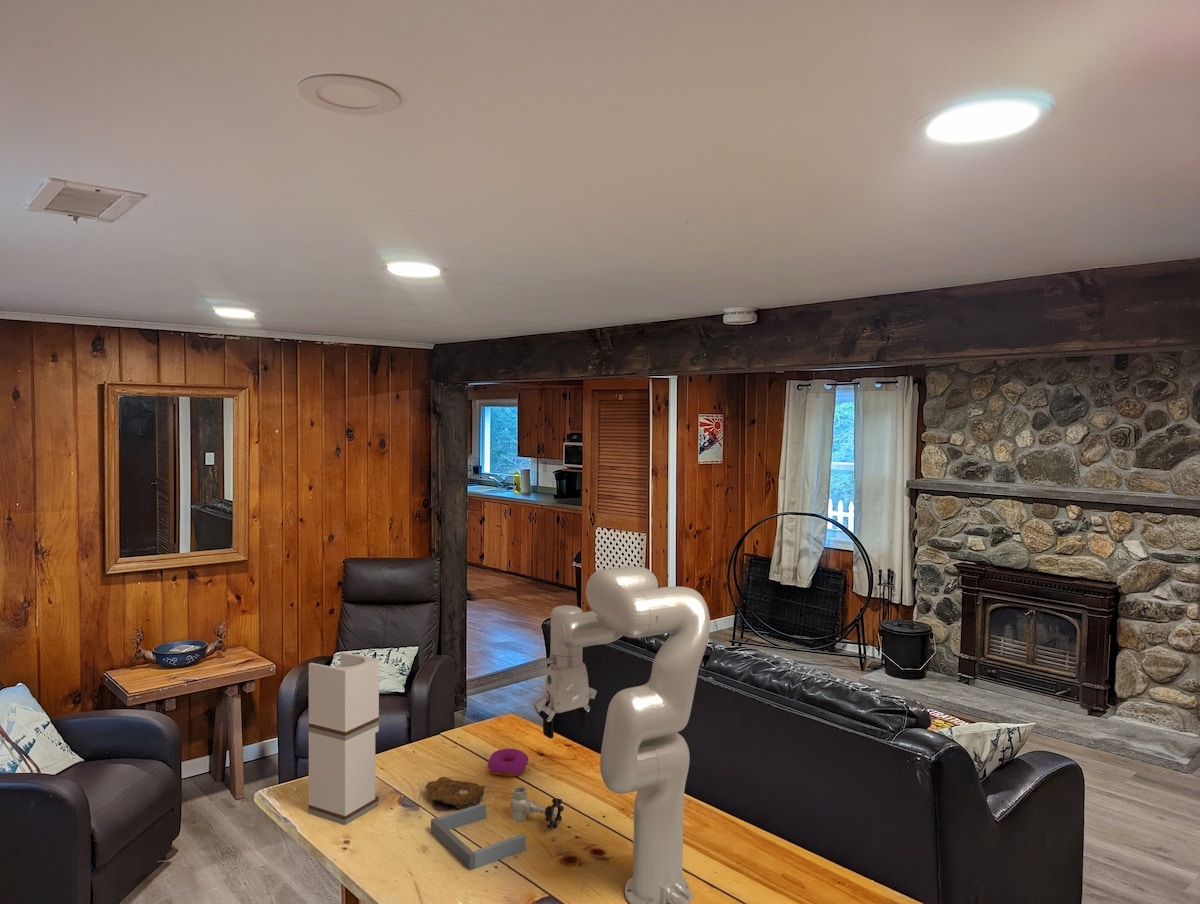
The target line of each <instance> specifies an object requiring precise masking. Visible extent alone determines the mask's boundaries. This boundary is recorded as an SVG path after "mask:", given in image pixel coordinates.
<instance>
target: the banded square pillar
mask: <svg viewBox="0 0 1200 904" xmlns="http://www.w3.org/2000/svg"><path fill="white" fill-rule="evenodd" d="M339 663H340V666H339V667H337V666H330V665H326V664H325V665H324V664H320V663H314V662H310V663H308V814H309V815H313V816H315V817H319V818H322V819H325V820H328V821H331V822H333V823H338V824H340V825H344V826H347V824H349V823H352V822H353V821H355V820H356V819H358V818H359V817H362V816H364V815H365V814H366V813H369V811H371V810H373V809H375V808H377V807H378V806H379V801H380V800H379V799H380V797H379V796H376V733H378V732H379V730H380V725H379V724H380V723H379V722H380V718H379V717H380V714H379V713H380V709H379V707H380V705H379V704H380V703H379V702H380V699H379V698H380V658H375V657H372V656H364V655H360V654H354V653H348V652H341V653H340V661H339Z"/></svg>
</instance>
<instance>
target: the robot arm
mask: <svg viewBox="0 0 1200 904" xmlns="http://www.w3.org/2000/svg"><path fill="white" fill-rule="evenodd" d="M585 596H586V600H587V604H588V605H589V607H590V608H591V610H592V611H585V612H583V609H581V608H580V607H579V606H576V605H569V604H568V605H559V606H555V607H554V608H552V610H551V613H550V653H549V657H548V658H546V664H547V665H548V667H547V670H546V677H545V683H544V693H543V695H542V696H541V697H540V698H538V699H537V700H536V701H535V702H534V703H533V707H534V709H535V712H536V714H537V715H538V716H539V717H540V718H541V719H542V723H543V724H542V733H543V735H544V736H545V737H546V738H549V739H554V737H555V736H554V734H555V732H554V728H555V727H554V726H555V725H554V724H555V722H554V720H552V719H554V716H555V715H556V714H561V713H565V712H570V711H573V710H577V713H576V714H577V716H576V717H577V720H576V721H577V726H578V727H580V729H581V728H582V729H583V730H587V729H588V722H589V720H588V717H589V716H588V715H589V714H588V713H589V712H591V707H592V705H593V704H594V702H595V698H596V696H597V693H598V690H597V689H595V688H592V687H589V676H588V671H587V667H586V664H585V663H584V662H583V654H584V653H583V650H584V649H583V648H587V647H590V646H596V645H597V646H599V645H604V644H605V645H606V644H610V643H613V642H616V641H617V640H619V639H620V638H621V637H623V636H624V637H627V638H630V639H636V638H637V639H638V638H646V637H651V636H660V635H665V634H669V636H668V638H667V639H666V641H665V642H664V643H663V644H662V645H661V646H660V648H659V649H658V650H657V653H656V655H655V657H654V658H653V662H652V667H651V674H650V678H649V680H648V681H647V682H646V683H645V684H641V685H639V686H633V687H628V688H624V689H621V690H620V691H618V692H616V694H615V695H614V696H613V697H612V698H611V700H610V702H609V704H608V709H607V713H606V718H605V725H604V730H603V731H604V732H603V738H602V743H601V750H600V756H599V757H600V760H599V765H600V766H599V770H600V776H601V778H602V782H603V783H604V785H605V787H606V788H607V789H608V790H609V791H610V792H612V793H615V794H618V795H619V794H628V793H629V794H630V793H633V792H636V791H637V792H636V793H635V794H636V795H635V799H634V802H633V803H634V804H633V805H634V806H633V835H632V836H633V839H632V840H633V841H632V842H633V844H632V845H633V846H632V847H633V851H632V855H633V857H632V877H630V878H629V879H628V880H627V881H626V883H625V886H624V896H625V899H626V900H627V901H628V903H630V904H690V902H692V901H694V899H695V895H694V894H693V893H692V892H691V888H690V886H689V884H688V883H687V879H686V877H684V876H683V868H684V867H683V862H684V861H683V858H684V857H683V852H684V851H683V849H684V848H683V847H684V807H685V806H684V804H685V788H686V783H687V778H688V774H689V768H690V749H689V746H688V743H687V742H686V741H687V740H685V738H684V736H682V735H681V734H680V733H679V732H681V731H683V730H684V729H685V727H687V725H688V723H689V720H690V716H691V712H692V707H693V701H694V696H695V692H696V685H697V682H698V680H697V679H698V675H699V670H700V667H701V663H702V660H703V657H704V655H705V653H706V652H705V651H706V649H707V646H708V642H709V639H710V632H711V618H710V617H711V616H710V612H709V608H708V604H707V603H706V601H705V598H704V597H703V596H702V594H701V593H700V592H699V591H697V590H695V589H693V588H690V587H687V586H663V587H659V582H658V578H657V577H656V575H655V574H654V573H653V572H652V571H651V570H650V569H648V568H646V567H643V566H637V565H636V566H635V565H632V566H623V567H621V566H620V567H612V568H611V567H610V568H601V569H599V570H596V571H595V572H593V573H592V574H591V575H590V576H589V578H588V580H587V583H586V587H585ZM543 706H545V708H543Z"/></svg>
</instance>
